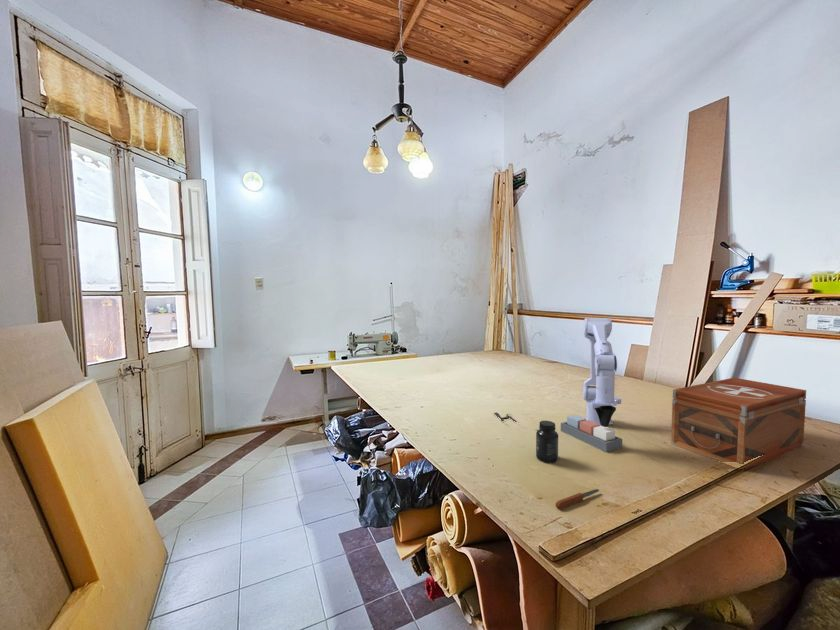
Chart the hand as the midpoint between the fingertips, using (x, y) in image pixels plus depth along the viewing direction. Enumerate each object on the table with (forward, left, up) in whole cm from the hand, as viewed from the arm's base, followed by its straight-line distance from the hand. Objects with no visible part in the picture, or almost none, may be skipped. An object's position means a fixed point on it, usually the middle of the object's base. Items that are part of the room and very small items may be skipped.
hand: (604, 426), depth 119 cm
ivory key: (0, 0, -4) cm, 4 cm away
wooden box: (-43, +19, -8) cm, 47 cm away
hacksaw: (+14, -30, -8) cm, 34 cm away
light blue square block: (0, -12, -4) cm, 13 cm away
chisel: (+35, +20, -8) cm, 41 cm away
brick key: (0, -6, -4) cm, 7 cm away
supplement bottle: (+25, -1, -7) cm, 27 cm away
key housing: (0, -6, -7) cm, 9 cm away
